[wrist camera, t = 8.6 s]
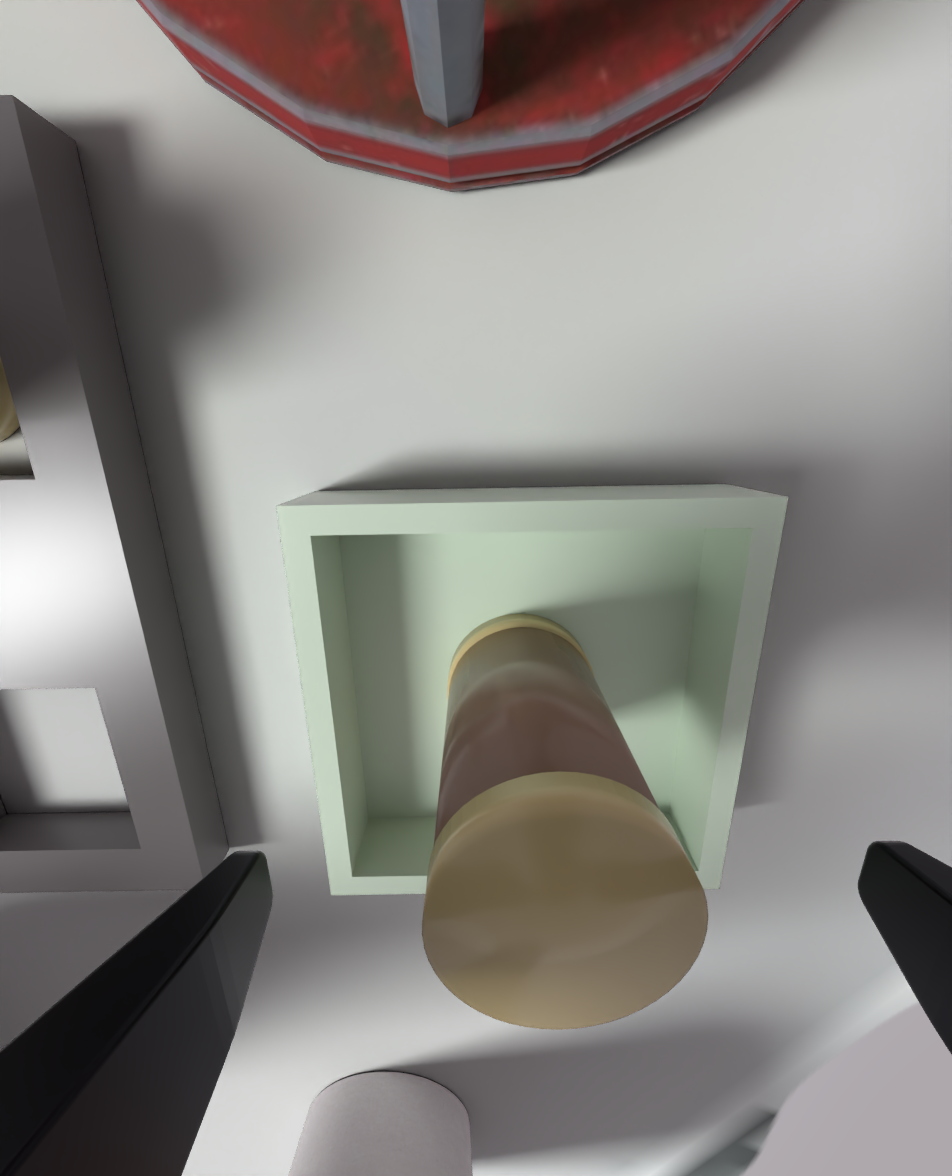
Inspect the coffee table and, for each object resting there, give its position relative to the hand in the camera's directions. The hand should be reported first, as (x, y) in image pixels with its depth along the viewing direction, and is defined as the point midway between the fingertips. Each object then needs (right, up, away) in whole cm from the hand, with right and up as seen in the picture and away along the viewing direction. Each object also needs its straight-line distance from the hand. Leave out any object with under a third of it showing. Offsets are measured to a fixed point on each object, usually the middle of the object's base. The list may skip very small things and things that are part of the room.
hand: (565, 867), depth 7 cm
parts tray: (0, +2, +6) cm, 6 cm away
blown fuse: (0, +2, +6) cm, 6 cm away
